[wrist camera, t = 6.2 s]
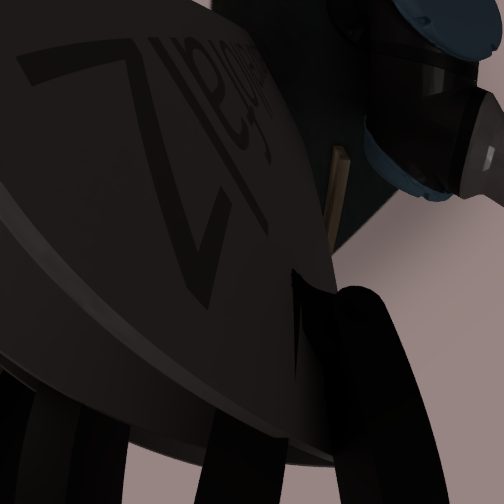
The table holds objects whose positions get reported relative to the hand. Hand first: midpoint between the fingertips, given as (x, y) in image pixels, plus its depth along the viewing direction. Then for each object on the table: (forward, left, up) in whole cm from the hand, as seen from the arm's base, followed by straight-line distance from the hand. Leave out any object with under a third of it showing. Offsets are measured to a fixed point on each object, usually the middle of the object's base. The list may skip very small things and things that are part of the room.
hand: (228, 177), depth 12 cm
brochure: (0, 0, -20) cm, 20 cm away
